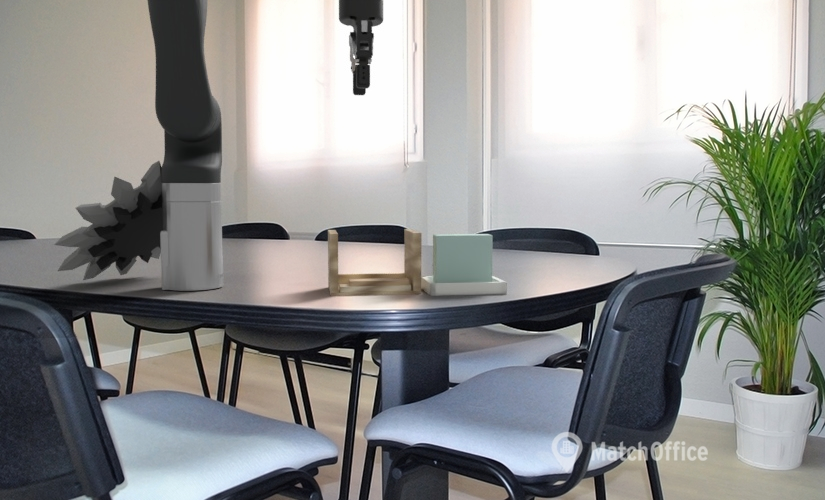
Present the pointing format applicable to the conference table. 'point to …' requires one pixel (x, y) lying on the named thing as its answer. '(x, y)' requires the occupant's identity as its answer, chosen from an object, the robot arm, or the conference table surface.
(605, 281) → the conference table surface
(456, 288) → the tray
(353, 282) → the offcut stack
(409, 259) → the rack
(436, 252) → the sheet
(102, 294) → the conference table surface
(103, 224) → the decorative piece
